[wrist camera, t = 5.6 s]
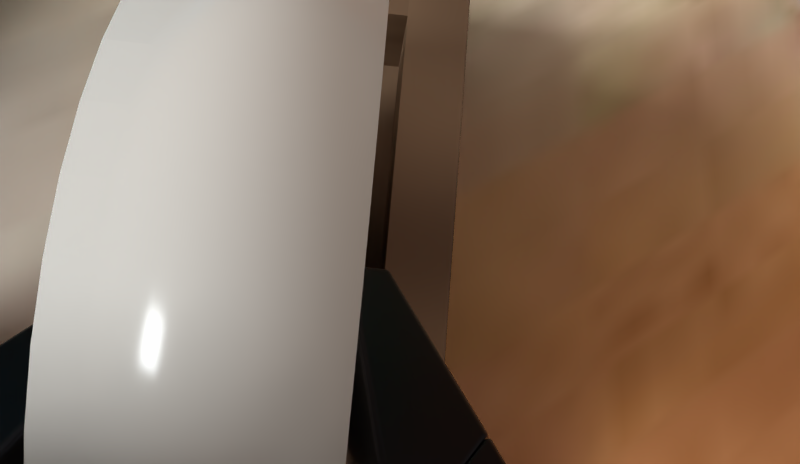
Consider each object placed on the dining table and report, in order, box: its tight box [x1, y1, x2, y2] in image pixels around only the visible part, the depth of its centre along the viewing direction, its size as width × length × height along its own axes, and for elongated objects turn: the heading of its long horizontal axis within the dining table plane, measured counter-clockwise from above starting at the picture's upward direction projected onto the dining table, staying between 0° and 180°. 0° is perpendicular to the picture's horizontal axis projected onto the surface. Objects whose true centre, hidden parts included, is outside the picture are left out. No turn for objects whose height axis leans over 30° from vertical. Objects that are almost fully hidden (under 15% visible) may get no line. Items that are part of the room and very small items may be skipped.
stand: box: [346, 0, 470, 464], centre depth 14 cm, size 13×6×4 cm, turn 175°
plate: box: [24, 0, 389, 464], centre depth 10 cm, size 2×10×10 cm, turn 175°
